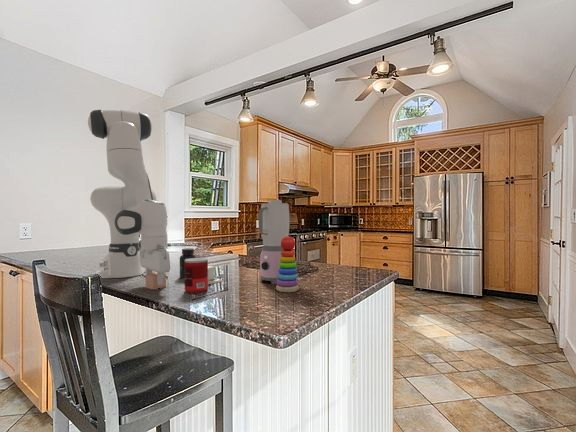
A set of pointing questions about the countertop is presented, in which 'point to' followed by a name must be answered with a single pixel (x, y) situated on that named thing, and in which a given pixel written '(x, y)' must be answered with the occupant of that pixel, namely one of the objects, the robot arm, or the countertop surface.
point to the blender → (272, 237)
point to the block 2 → (211, 273)
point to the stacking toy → (287, 267)
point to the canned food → (196, 275)
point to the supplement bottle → (186, 255)
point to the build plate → (214, 281)
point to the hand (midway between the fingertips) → (154, 282)
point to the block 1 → (154, 281)
